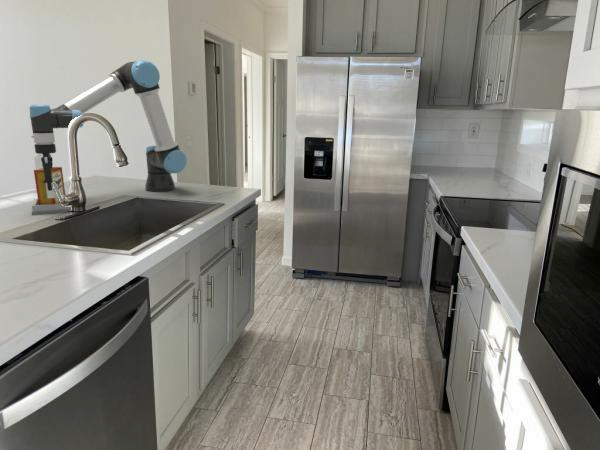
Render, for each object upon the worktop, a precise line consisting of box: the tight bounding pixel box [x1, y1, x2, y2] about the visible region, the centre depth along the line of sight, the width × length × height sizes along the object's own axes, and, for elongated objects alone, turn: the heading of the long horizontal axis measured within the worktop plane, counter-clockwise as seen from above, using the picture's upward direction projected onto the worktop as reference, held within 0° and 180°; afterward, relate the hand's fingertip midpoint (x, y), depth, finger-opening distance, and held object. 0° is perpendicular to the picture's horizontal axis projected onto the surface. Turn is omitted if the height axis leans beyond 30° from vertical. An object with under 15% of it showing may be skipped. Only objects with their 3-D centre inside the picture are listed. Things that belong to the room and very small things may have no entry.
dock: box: [31, 198, 71, 216], centre depth 191 cm, size 15×16×4 cm
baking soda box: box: [33, 166, 66, 205], centre depth 189 cm, size 10×6×16 cm
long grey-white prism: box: [33, 154, 43, 170], centre depth 217 cm, size 6×6×22 cm
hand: (51, 195), depth 190 cm, fingers closed on baking soda box, 11 cm apart
